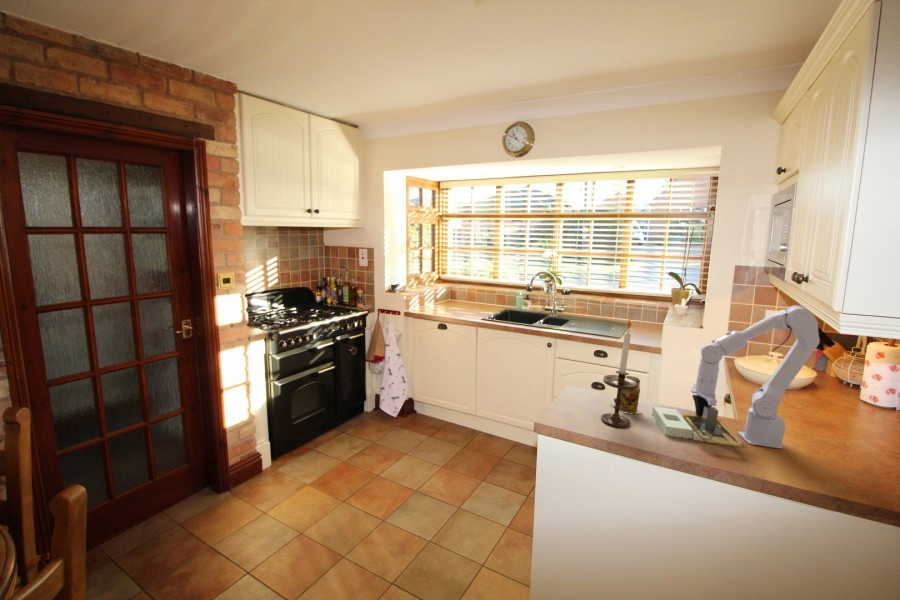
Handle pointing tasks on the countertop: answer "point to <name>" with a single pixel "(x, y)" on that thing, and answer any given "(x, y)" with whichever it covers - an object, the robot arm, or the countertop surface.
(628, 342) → the candlestick
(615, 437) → the countertop surface
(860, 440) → the countertop surface
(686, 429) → the square cutout plate
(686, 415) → the gold rectangular frame
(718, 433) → the peg
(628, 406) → the condiment
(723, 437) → the socket block
